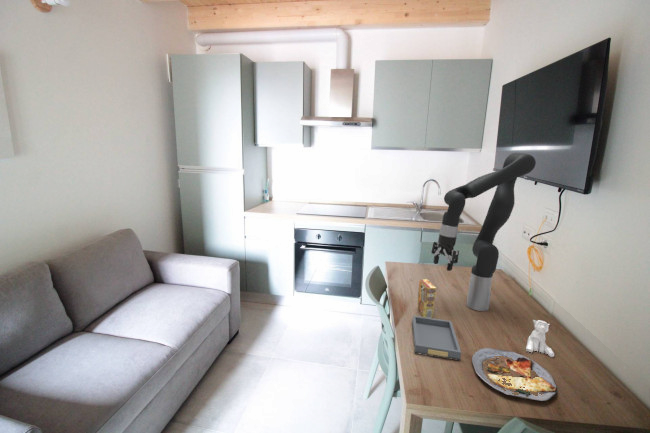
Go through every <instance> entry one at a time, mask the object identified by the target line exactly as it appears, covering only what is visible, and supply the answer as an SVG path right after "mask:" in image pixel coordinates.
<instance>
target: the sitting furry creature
mask: <svg viewBox="0 0 650 433" xmlns="http://www.w3.org/2000/svg"><path fill="white" fill-rule="evenodd" d="M532 322H533V325H534V330H532V332H531V334H529V336H528V338H527V340H526V342H527V343H526V346H525V351H526V352H527V351H529V352H531V353H530V354H532V353H534V352H533V350H534V351H537V352H536V353H540V352H541V354H544V353H545V355H547V354H548V355H547V356H549V357H550V358H554V356H555V352H554V350H553V349H552V348H551V347H549V346H548V345H547V343H546V333H547V332H549V327H550V326H549V325H551V323H547V322H546V321H545V320H541V319H540V320H539V319H538V320H536V319H532ZM538 351H539V352H538ZM529 352H528V353H529Z"/></svg>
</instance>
